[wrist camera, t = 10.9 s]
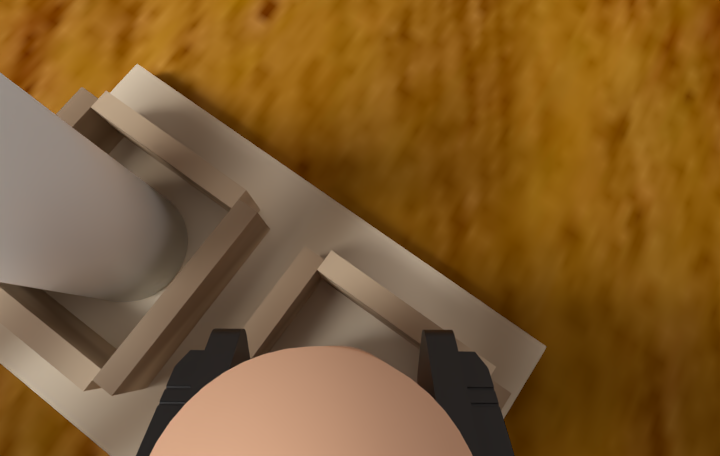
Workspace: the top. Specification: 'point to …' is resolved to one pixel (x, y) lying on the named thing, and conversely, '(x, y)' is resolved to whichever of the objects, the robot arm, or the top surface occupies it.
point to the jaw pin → (78, 212)
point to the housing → (233, 276)
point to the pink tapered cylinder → (312, 410)
